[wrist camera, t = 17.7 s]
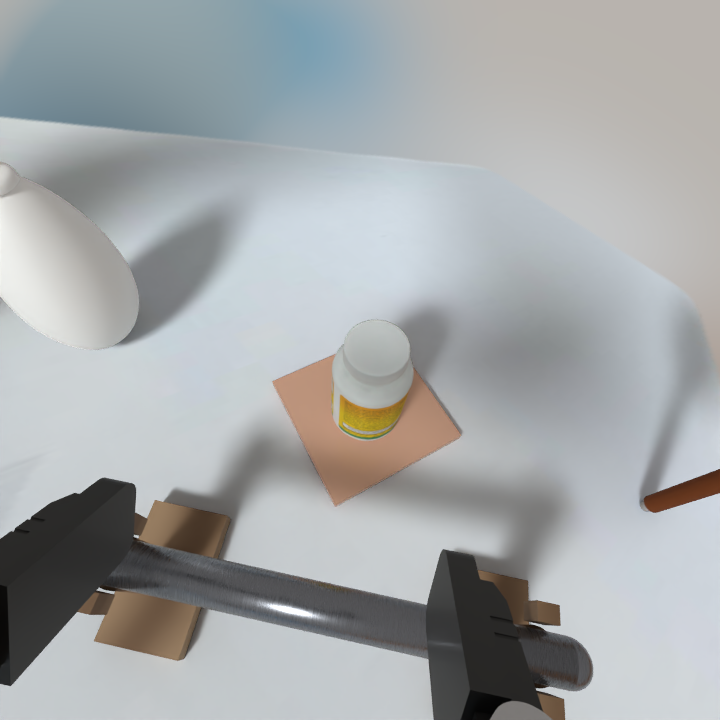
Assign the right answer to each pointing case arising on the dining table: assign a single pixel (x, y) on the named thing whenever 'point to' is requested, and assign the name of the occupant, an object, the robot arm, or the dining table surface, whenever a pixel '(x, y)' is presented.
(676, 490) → the magnifying glass
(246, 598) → the bar
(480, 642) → the robot arm
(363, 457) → the tile
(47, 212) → the white air blower bulb
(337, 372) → the supplement bottle
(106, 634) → the hurdle stand
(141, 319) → the dining table surface
